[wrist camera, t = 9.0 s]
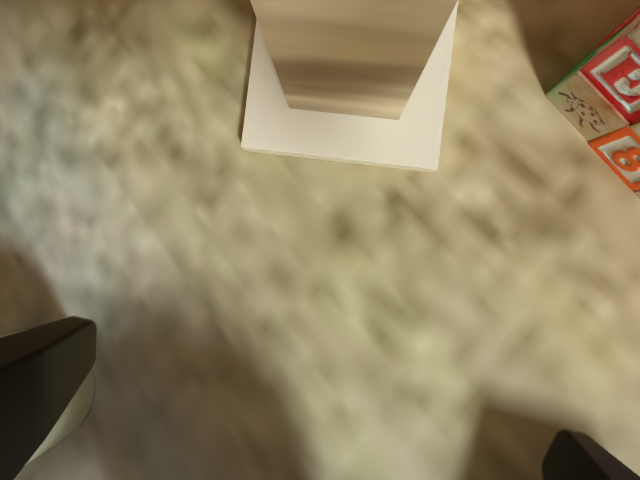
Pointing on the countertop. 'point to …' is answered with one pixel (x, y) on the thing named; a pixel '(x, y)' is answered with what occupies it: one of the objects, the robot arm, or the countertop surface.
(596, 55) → the stack of blocks
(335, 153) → the tile
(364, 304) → the countertop surface
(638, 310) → the countertop surface
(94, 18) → the countertop surface
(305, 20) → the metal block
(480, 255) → the countertop surface
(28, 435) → the robot arm
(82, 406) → the sage jar
